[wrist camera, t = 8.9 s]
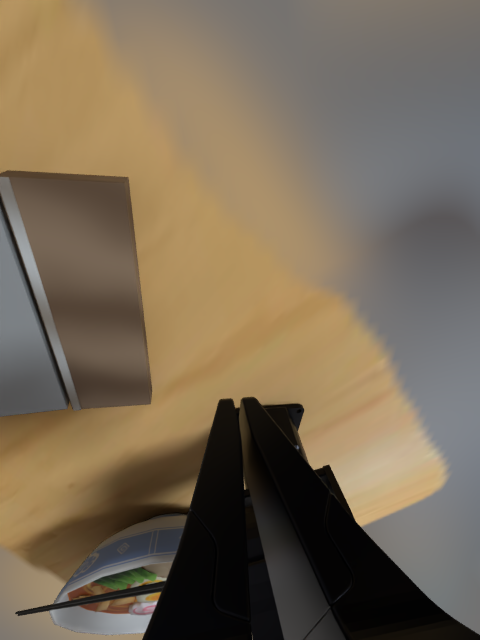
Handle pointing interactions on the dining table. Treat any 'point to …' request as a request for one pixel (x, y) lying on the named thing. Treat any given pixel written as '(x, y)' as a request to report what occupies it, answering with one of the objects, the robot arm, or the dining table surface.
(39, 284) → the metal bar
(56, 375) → the grey tile
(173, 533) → the ramen bowl
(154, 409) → the dining table surface
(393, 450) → the dining table surface
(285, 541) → the robot arm
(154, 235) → the dining table surface
